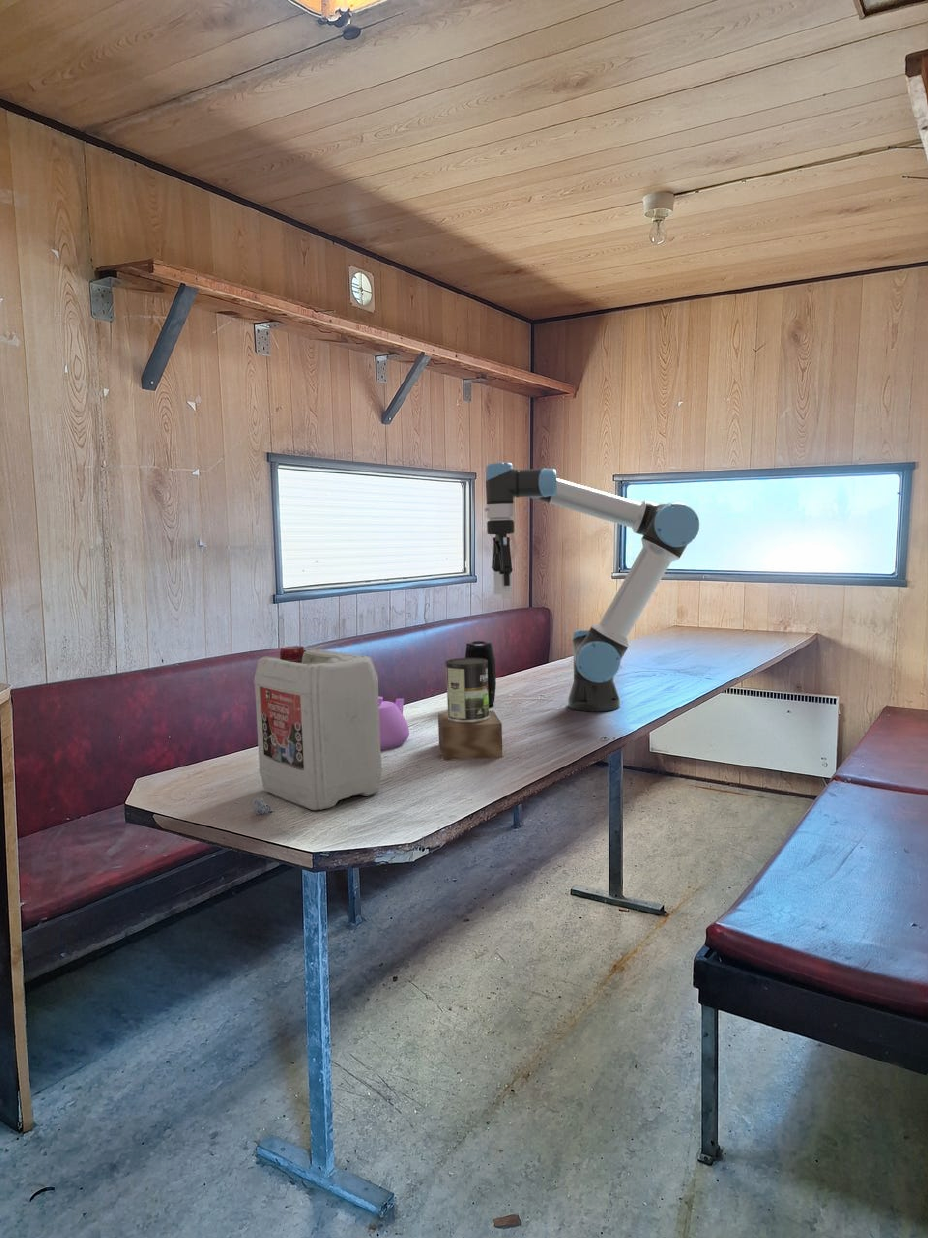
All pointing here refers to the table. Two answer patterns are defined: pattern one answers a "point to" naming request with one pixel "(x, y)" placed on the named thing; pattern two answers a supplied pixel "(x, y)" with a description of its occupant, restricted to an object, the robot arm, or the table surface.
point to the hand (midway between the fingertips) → (502, 596)
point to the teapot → (392, 724)
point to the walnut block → (470, 738)
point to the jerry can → (318, 726)
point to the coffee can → (467, 690)
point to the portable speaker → (486, 652)
